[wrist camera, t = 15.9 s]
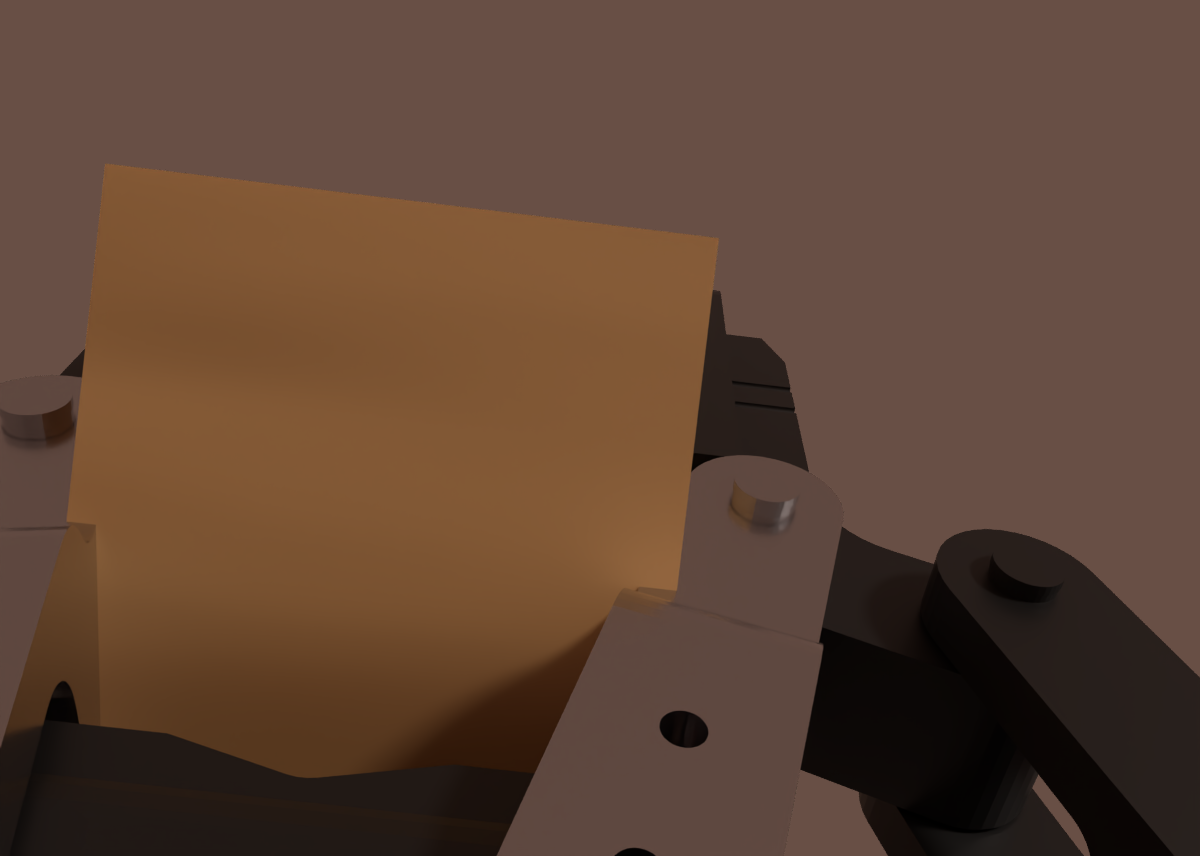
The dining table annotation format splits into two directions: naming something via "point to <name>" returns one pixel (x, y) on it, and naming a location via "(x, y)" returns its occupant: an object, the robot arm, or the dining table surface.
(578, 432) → the bar
